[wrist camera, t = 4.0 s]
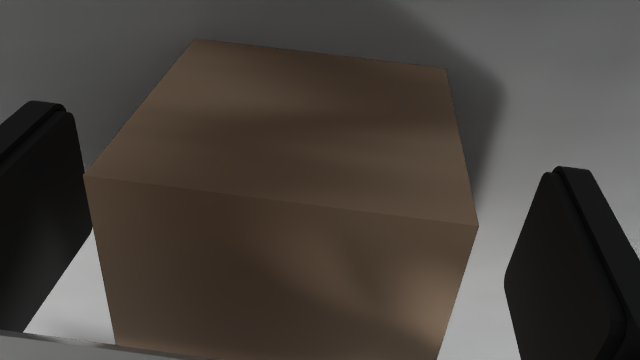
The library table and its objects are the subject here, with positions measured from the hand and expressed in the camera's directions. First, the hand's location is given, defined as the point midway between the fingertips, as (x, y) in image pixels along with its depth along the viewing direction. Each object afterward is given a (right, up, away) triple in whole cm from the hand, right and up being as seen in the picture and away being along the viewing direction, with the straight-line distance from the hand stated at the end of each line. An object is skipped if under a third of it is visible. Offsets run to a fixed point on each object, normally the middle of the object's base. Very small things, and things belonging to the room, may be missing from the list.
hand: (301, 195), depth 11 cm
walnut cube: (0, +1, +1) cm, 2 cm away
